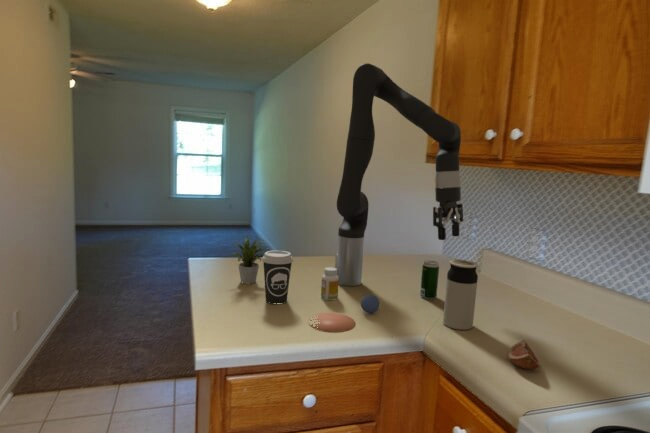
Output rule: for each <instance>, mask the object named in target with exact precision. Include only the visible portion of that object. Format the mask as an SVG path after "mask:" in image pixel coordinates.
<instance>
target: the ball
mask: <svg viewBox="0 0 650 433" xmlns="http://www.w3.org/2000/svg"><path fill="white" fill-rule="evenodd" d="M380 304H381V303H380V299H379V298H378V297H377V296H376V295H374V294H366V295H364V296H363V297H362V298H361V301H360V306H361V309H362V310H363V312H364V313H367V314H370V315H371V314H375V313H376V312H377V311H379V308H380V306H381V305H380Z"/></svg>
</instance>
